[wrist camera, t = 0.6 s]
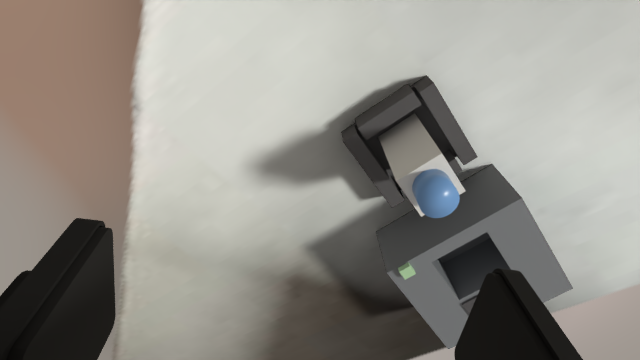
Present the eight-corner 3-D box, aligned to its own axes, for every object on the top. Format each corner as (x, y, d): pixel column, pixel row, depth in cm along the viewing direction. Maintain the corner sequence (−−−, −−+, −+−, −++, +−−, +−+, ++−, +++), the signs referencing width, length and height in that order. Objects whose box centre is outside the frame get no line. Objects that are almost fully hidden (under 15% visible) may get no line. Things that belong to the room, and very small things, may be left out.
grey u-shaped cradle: (424, 72, 35) (431, 79, 33) (470, 149, 39) (479, 159, 37) (339, 129, 37) (341, 139, 35) (389, 197, 41) (393, 210, 39)
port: (492, 164, 39) (524, 201, 34) (539, 246, 44) (576, 292, 38) (376, 231, 42) (387, 277, 36) (431, 303, 47) (450, 353, 41)
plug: (414, 113, 36) (451, 166, 28) (435, 145, 38) (475, 206, 29) (378, 136, 37) (401, 195, 28) (399, 167, 39) (428, 232, 30)
